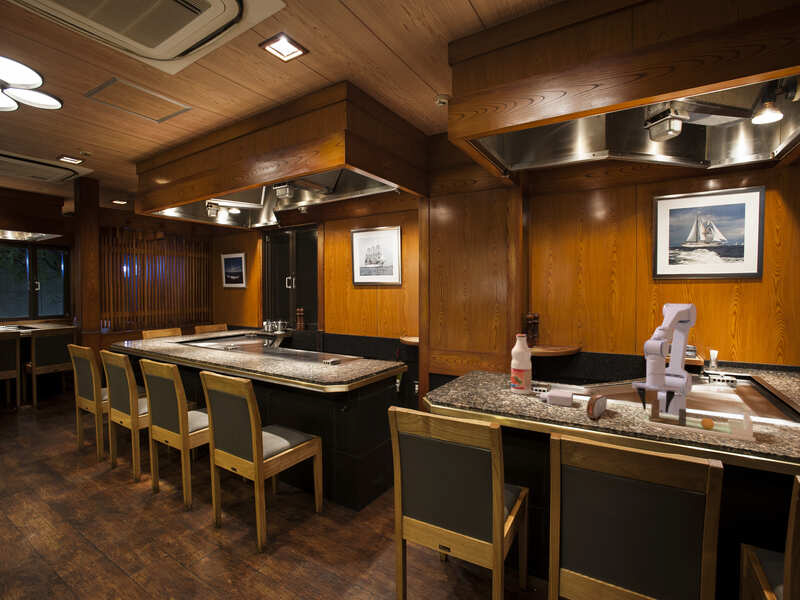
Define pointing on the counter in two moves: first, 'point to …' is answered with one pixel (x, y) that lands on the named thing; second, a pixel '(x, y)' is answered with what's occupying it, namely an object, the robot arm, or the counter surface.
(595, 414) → the tin
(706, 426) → the ball
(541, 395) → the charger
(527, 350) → the fruit juice
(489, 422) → the counter surface
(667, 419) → the striker
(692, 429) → the pitch
